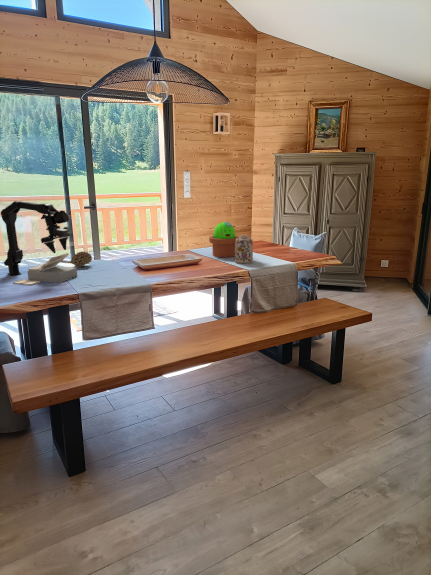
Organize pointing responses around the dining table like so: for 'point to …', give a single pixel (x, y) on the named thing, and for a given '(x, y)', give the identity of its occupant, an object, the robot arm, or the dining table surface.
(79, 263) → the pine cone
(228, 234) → the potted cactus
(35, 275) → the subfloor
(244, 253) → the decorative jar
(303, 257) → the dining table surface
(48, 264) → the board
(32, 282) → the plank
